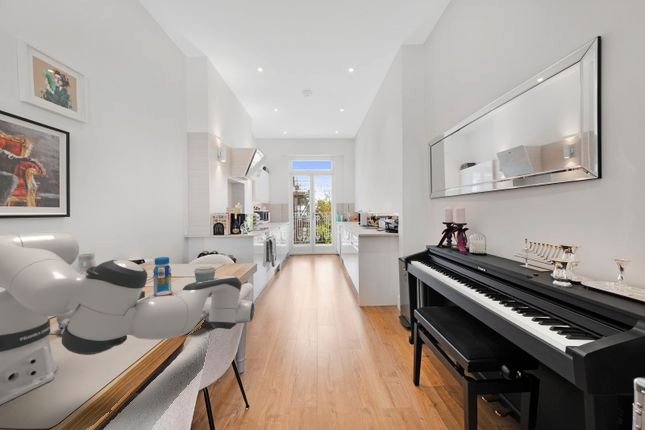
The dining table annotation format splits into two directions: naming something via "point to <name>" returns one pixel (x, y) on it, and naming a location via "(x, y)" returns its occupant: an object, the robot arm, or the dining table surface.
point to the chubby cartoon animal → (64, 320)
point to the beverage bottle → (162, 275)
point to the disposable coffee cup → (204, 274)
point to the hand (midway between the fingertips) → (181, 309)
